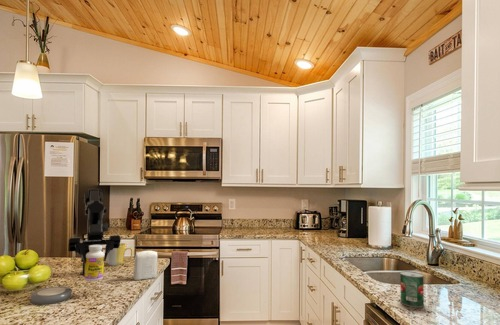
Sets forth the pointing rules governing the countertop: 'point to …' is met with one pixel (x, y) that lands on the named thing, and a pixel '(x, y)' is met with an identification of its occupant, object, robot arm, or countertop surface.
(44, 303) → the charcoal trivet
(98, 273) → the supplement bottle
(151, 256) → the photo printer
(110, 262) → the mug
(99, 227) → the robot arm
